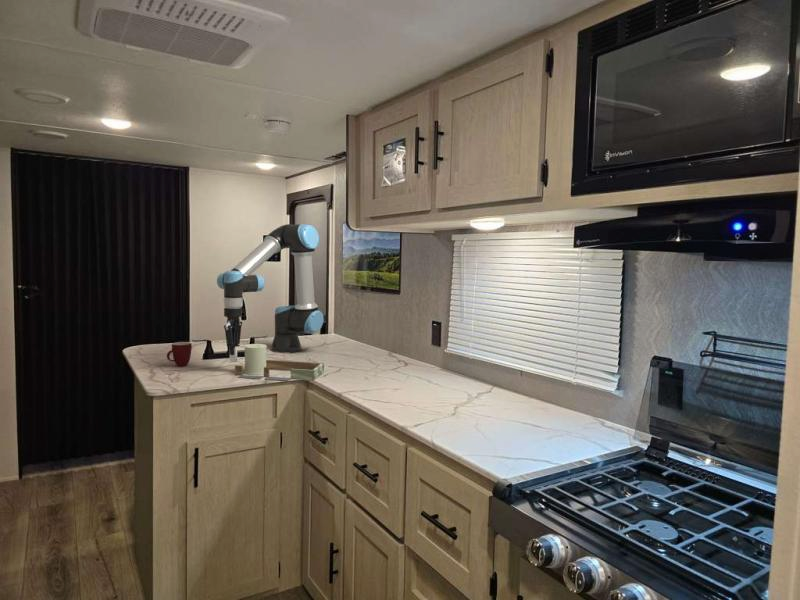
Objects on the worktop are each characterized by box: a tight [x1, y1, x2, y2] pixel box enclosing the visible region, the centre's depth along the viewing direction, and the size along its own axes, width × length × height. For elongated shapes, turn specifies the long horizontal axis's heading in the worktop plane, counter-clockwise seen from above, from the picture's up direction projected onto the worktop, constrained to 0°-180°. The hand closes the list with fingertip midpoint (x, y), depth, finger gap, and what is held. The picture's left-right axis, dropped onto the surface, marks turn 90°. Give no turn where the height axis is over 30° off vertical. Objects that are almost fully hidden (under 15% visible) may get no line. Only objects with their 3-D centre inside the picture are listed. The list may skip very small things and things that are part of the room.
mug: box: [166, 341, 193, 368], centre depth 236 cm, size 10×8×10 cm
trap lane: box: [234, 359, 325, 381], centre depth 228 cm, size 14×34×4 cm, turn 82°
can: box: [243, 343, 268, 376], centre depth 229 cm, size 9×9×12 cm
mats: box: [237, 374, 291, 382], centre depth 219 cm, size 4×21×1 cm, turn 82°
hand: (233, 361), depth 230 cm, fingers closed
